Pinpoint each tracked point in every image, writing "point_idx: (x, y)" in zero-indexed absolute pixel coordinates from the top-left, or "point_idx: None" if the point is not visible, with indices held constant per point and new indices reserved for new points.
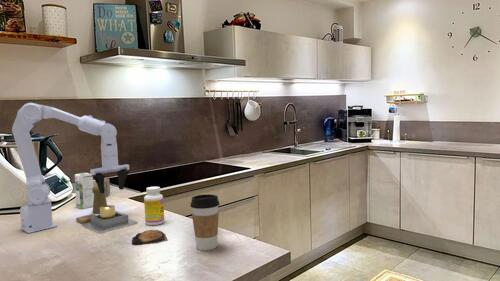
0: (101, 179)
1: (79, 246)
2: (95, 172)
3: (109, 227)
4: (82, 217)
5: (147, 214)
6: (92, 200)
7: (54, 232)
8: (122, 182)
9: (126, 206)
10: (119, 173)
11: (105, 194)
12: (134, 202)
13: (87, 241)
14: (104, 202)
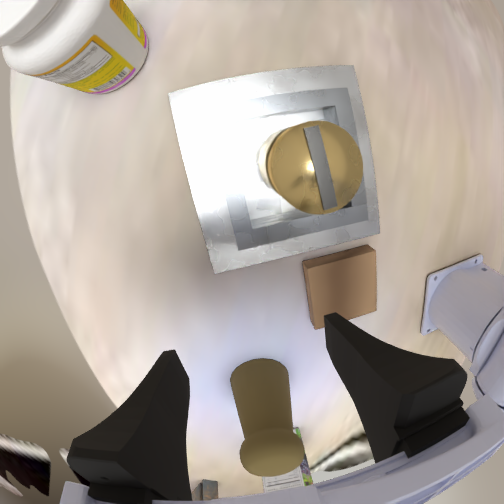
0: (411, 365)
1: (413, 11)
2: (478, 425)
3: (307, 88)
4: (361, 299)
5: (133, 16)
6: None
7: (448, 213)
8: (156, 385)
9: None
10: (169, 481)
11: (205, 486)
12: None
13: (394, 26)
14: (250, 396)
